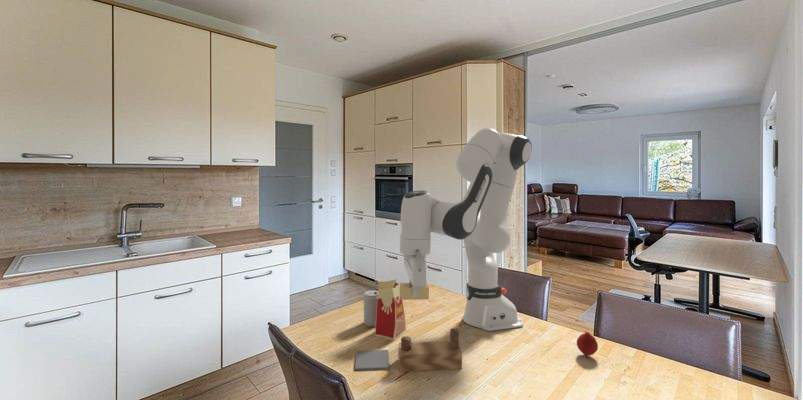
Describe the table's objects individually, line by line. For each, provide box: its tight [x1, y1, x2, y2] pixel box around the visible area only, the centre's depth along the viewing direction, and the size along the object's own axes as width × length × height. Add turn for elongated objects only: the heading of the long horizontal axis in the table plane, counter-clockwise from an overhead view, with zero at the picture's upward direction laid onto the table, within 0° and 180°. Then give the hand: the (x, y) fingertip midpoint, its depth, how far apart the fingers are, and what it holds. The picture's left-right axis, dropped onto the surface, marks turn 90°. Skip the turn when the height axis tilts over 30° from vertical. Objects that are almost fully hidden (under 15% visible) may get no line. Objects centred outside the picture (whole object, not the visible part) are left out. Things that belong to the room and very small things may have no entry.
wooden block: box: [399, 282, 430, 301], centre depth 105 cm, size 8×4×4 cm, turn 96°
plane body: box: [398, 328, 463, 372], centre depth 106 cm, size 18×7×10 cm, turn 95°
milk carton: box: [374, 278, 407, 342], centre depth 126 cm, size 9×9×20 cm
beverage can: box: [363, 290, 378, 328], centre depth 134 cm, size 6×6×12 cm
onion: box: [576, 330, 599, 357], centre depth 111 cm, size 6×6×8 cm
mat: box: [354, 349, 391, 371], centre depth 108 cm, size 10×10×1 cm
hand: (414, 293), depth 105 cm, fingers closed on wooden block, 4 cm apart
